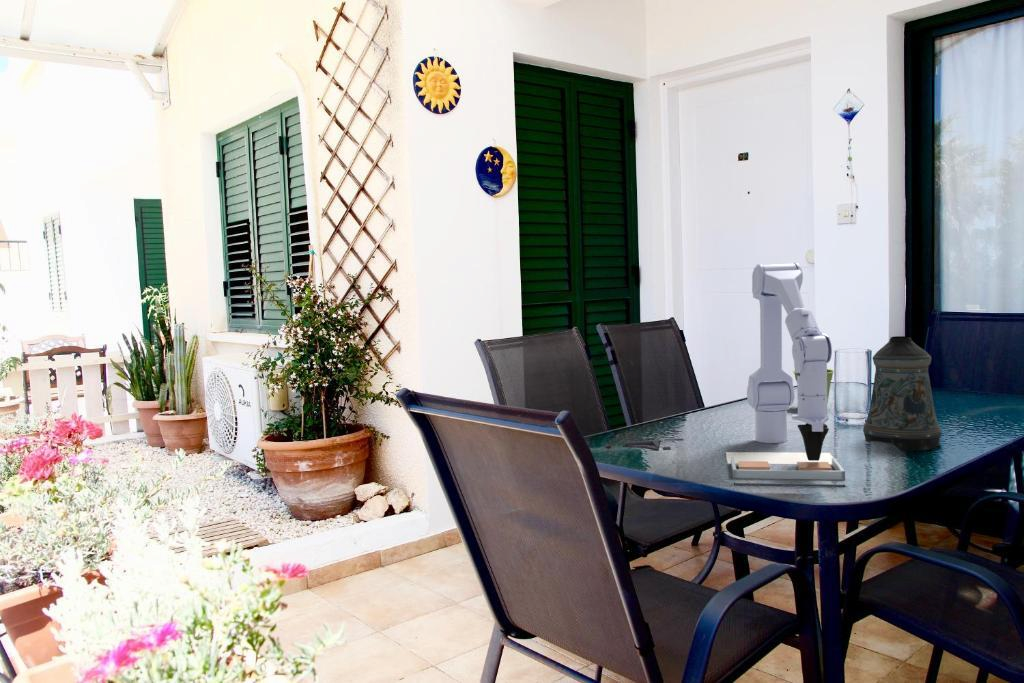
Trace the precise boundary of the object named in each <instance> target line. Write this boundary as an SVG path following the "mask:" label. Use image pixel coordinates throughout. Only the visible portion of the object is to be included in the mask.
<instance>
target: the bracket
mask: <svg viewBox="0 0 1024 683" xmlns="http://www.w3.org/2000/svg"><path fill="white" fill-rule="evenodd" d="M661 441H662V439H651V440H638V441H637V440H635V441H625V443H624V446H626V448H639V447H641V449H650V450H656V451H658V452H659V450H660V445H661ZM665 441H677V442H678V441H679V442H680V441H682V442H683V441H684V438H668V439H665ZM648 445H649V446H648ZM652 445H653V446H652ZM662 449H663V450H664V451H671V450H672V449H671V446H663V447H662Z"/></svg>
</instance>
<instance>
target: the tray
mask: <svg viewBox="0 0 1024 683" xmlns="http://www.w3.org/2000/svg"><path fill="white" fill-rule="evenodd" d="M730 465H731V471H732V472H731V473H732V478H733V479H771V480H773V479H776V480H777V479H778V480H779V479H780V480H781V479H782V480H783V479H785V480H787V479H788V480H790V479H791V480H846V471H845V470H844V468H843V466H842V465H841V464H840V463H839V461H838V460H837V458H836V457H833V458H832V465H831V467H832V468H833V470H832V471H821V470H799V469H797V470H796V469H792V470H790V469H770V470H739V469H737V467H736V465H737V464H735V460H734V457H731V464H730ZM732 484H733V486H757V487H758V486H760V487H763V486H764V487H818V488H819V487H825V488H826V487H827V488H828V487H829V488H831V487H833V488H836V487H837V488H838V487H839V488H845V487H846V484H829V483H828V484H826V483H825V484H820V483H819V484H818V483H816V484H814V483H807V484H806V483H762V482H761V483H755V482H754V483H751V482H750V483H749V482H748V483H747V482H743V483H742V482H732Z"/></svg>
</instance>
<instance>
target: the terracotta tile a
mask: <svg viewBox="0 0 1024 683" xmlns="http://www.w3.org/2000/svg"><path fill="white" fill-rule="evenodd" d="M737 467H738V470H771V467H770V464H769V463H768V461H738V464H737Z"/></svg>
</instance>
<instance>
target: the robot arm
mask: <svg viewBox="0 0 1024 683" xmlns="http://www.w3.org/2000/svg"><path fill="white" fill-rule="evenodd" d="M751 280H752V281H751V283H752V284H751V287H752V288H751V290H752V291H751V292H752V297H753V298H754V299H756V300H759V308H760V309H759V310H760V313H759V316H760V317H759V321H760V322H759V323H760V325H759V326H760V327H759V329H760V336H759V337H760V340H759V341H760V367H759V368H758V369H756V370H755V371H754V372H753V373H751V374H750V375H749V376H748V384H747V387H746V398H747V403H748V405H749V406H750V407H751V408H752V409H754V417H755V418H754V420H755V421H754V422H755V425H754V427H755V438H752V441H755V442H756V441H757V442H758V443H766V444H780V443H785V442H788V417H787V416H788V414H787V412H788V411H787V410H790V407H792V405H793V404H794V402H795V395H796V394H795V388H794V384H793V383H794V381H793V377H792V375H791V374H790V373H789V372H787V371H786V370H785V369H783V368H782V367H783V364H782V363H783V362H782V361H783V354H782V353H783V349H782V348H783V346H782V344H783V343H782V342H783V341H782V340H783V339H782V337H783V332H782V331H783V330H782V329H783V328H782V326H783V325H782V324H783V322H782V318H783V317H782V310H783V308H784V311H785V312H786V314H787V315H786V317H785V320H784V323H785V326H786V329H787V331H788V333H789V336H790V339H791V341H792V346H791V347H792V348H791V354H792V358H793V365H794V366H793V367H794V370H795V372H797V381H796V387H797V390H796V391H797V414H792V415H791V419H792V420H793V421H794V420H797V421H800V422H802V423H805V424H798V425H797V426H796V427H797V428H798V430H799V431H800V434H801V438H802V440H803V445H804V451H805V453H806V455H807V458H808V460H809V461H819V459H820V455H821V453H822V449H823V444H824V441H825V438H826V436H827V434H828V433H829V431H830V430H829V427H828V425H827V424H826V422H828V421H829V418H830V417H829V414H828V404H827V369H828V364H829V363H830V361H831V360H832V355H833V347H832V346H833V345H832V342H831V340H830V336H829V335H828V334H825V332H824V331H820V328H819V326H818V323H817V321H816V319H815V316H814V314H813V312H812V311H811V310H809V309H807V308H805V305H804V302H803V299H802V294H801V288H802V285H803V281H804V274H803V269H802V267H801V264H799V263H798V262H792V263H773V264H761V263H760V264H759V263H758V264H757V265H756V266H755V267H753V271H752V274H751ZM782 307H783V308H782Z"/></svg>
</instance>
